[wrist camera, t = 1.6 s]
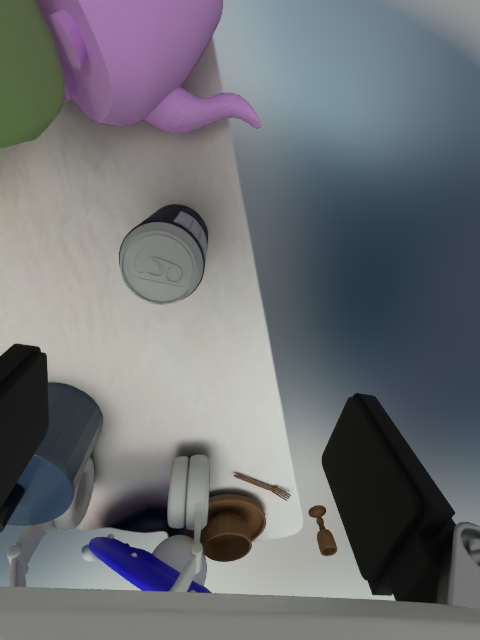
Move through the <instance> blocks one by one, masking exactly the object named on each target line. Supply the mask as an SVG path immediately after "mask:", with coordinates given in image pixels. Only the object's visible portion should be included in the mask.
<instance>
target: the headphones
mask: <svg viewBox="0 0 480 640" xmlns="http://www.w3.org/2000/svg"><path fill="white" fill-rule="evenodd" d="M93 484H94V465H93V461H92V459H91V458H90V457H89V459H88V462H87V464H86V466H85V468H84V471H83V473H82V475H81V478H80V480H79V482H78V484H77V487H76V489H75V495H74V499H73V501H72V504H71V505H70V507H69V509H68V510H67V511H66V512H65V513H64V514H62V515H61V516H60V517H58V518H56V519H54V520H52V521H50V522H46V523H43V524H38V525H29V526H24V527H23V530H22V532H21V534H20V537H19V539H18V541H17V543H16V545H14V546H12V547H11V548H10V549H9V550H8V552H7V557H8V559H9V562H10V565H11V567H10V587H26V579H25V574H26V573H27V572H28V565H27V564H28V562H29V561H30V559H31V557H32V555H33V553H34V551H35V550H36V548H37V546H38V544H39V543H40V541H41V539H42V537H43V536H44V535H45V534H46V533H47V532H51V531H55V530H57V529H61V530H68V529H73V528H75V527H77V526H78V525H79V524H80V522H81V521H82V519H83V518H84V516H85V514H86V511H87V509H88V506H89V503H90V499H91V495H92V491H93ZM209 484H210V463H209V458H207V456H205V455H194V456H191V458H190V461H189V458H188V457H186V456H181V457H176V458H175V459H174V461H173V464H172V469H171V475H170V483H169V493H168V509H167V518H168V524H169V526H170V527H172V528H183V527H184V525H185V522H186V528H187V529H190V530H194V543H193V544H192V546H191V558H190V560H189V561H188V562H187V564H186V565H185V567H184V568H183V570H182V572H181V573H180V575H179V577H178V579H177V580H176V582H175V584H174V585H173V587H172V588H171V589H170V591H169V592H187V590H188V588H189V586H190V584H191V582H192V580H193V578H194V575H195V574H197V573H199V572H200V571H201V567H202V550H203V546H202V544H201V543H200V534H201V529H203V528H204V527H205V526H206V525H207V518H208V506H209Z"/></svg>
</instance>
